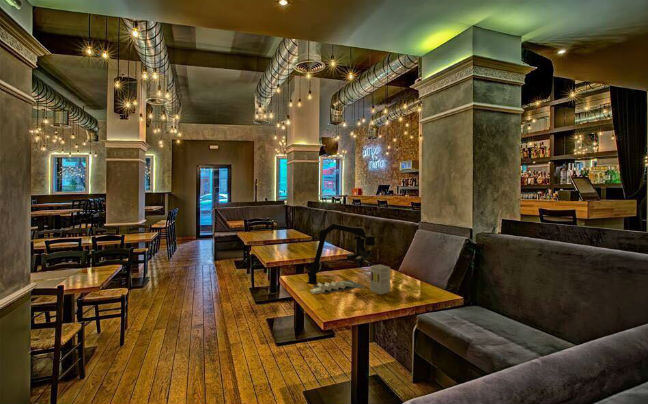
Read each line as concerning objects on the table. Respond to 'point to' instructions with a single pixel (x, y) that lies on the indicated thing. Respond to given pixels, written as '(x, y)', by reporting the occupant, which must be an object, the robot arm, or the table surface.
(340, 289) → the mat
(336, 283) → the domino
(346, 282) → the domino
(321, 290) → the domino
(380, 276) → the supplement box
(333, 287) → the domino
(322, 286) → the domino
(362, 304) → the table surface
